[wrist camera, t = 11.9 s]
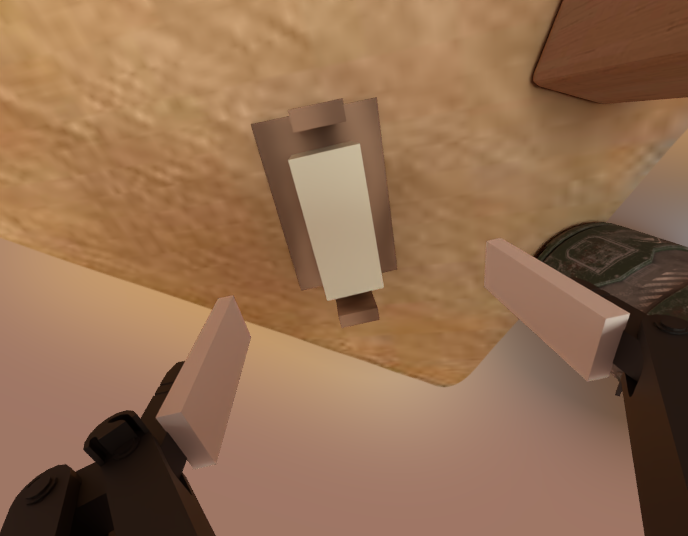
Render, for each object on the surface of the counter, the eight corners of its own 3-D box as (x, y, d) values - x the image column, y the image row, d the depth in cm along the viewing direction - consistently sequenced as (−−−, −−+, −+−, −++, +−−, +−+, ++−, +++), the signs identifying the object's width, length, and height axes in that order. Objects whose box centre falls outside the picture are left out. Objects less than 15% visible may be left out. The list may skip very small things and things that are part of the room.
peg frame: (301, 288, 39) (298, 337, 30) (251, 124, 30) (226, 123, 21) (396, 267, 39) (422, 310, 30) (375, 97, 30) (403, 85, 21)
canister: (505, 259, 40) (833, 483, 15) (618, 196, 37) (1238, 335, 12) (534, 333, 47) (794, 572, 22) (632, 283, 44) (1052, 487, 19)
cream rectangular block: (325, 278, 34) (327, 301, 30) (291, 154, 28) (288, 160, 23) (374, 266, 34) (383, 287, 30) (351, 140, 28) (359, 143, 23)
